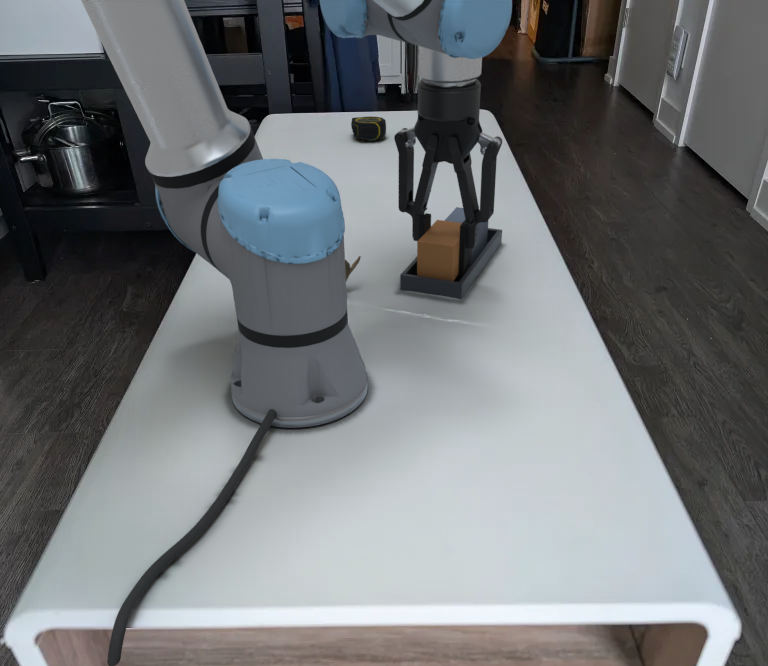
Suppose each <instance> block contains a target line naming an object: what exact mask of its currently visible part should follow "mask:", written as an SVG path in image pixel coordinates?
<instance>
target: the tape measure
mask: <svg viewBox="0 0 768 666" xmlns="http://www.w3.org/2000/svg"><path fill="white" fill-rule="evenodd" d="M350 126H351V131H352V134H353V137H355V138H356V139H359V140H366V141H367V142H374V141H375V142H376V141H377V140H378V139H382V138H384V137H385V136H386V134H387V120H386V119H385V118H384V117H380V116H359V117H351V122H350Z"/></svg>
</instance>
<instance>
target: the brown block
mask: <svg viewBox="0 0 768 666" xmlns="http://www.w3.org/2000/svg"><path fill="white" fill-rule="evenodd" d="M461 224H462V223H458V222H451V221H445V220H442V219H436V220H435V221H434V223H433V224H431V227H430V228H429V229H428V231H427V232H426V233H425V234H424V235H423V236H422V237H421V238H420V239H419V240H418V241H416V246H417V247H416V253H417V254H416V257H417V276H423V277H429V278H436V279H442V280H449V281H454V280H455V278H456V277H457V276H458V274H459V273H458V270H459V246H460V225H461Z"/></svg>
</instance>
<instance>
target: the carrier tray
mask: <svg viewBox="0 0 768 666" xmlns="http://www.w3.org/2000/svg"><path fill="white" fill-rule="evenodd" d="M502 237H503V229H500V228H491V227H488V235H487V245H486V246H485V248H484V249H483V250H482V252H481V253H480V254H479V256H478V257H477V258H476V260H475V261H474V262H473V264H472V265H469V267H468V268H467V270H466V271H465V273H464V274H461V273H459V274H458V276H457V277H456V278H455V280H454V281H449V280H442V279H436V278H429V277H423V276H417V256H415V258H414V259H413V260H412V261H411V262H410V263H409V264H408V266H407V267H406V268H405V269H403V271H402V273H400V274H399V281H400V282H399V288H400V289H399V290H403V291H408V292H416V293H420V294H421V293H422V294H428V295H432V296H433V295H434V296H440V297H446V298H453V299H454V298H455V299H459V300H462V299H463V297H464V296H465V295H466V293H467V292H468V290H469V289H470V288H471V286H472V285H473V284H474V282H475V281H476V280H477V278H478V276H479V275H480V274H481V273H482V271H483V270H484V268H485V267H486V265H488V263H489V261H490V259H492V257H493V255H494V254H495V253H496V251H497V250H498V249H499V247H500V246H501V245H502V240H503V238H502Z"/></svg>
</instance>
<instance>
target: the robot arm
mask: <svg viewBox="0 0 768 666" xmlns="http://www.w3.org/2000/svg"><path fill="white" fill-rule="evenodd" d="M80 1H81V3H82V5H83V8H84V9H85V12H86V14H87V16H88V18H89V20H90V22H91V24H92V26H93V27H94V29H95V32H96V34H97V36H98V38H99V40H100V42H101V44H102V46H103V49H104V51H105V53H106V54H107V56H108V58H109V60H110V62H111V65H112V66H113V68H114V71H115V73H116V75H117V77H118V79H119V81H120V83H121V84H122V87H123V89H124V91H125V94H126V96H127V98H128V99H129V101H130V103H131V105H132V107H133V109H134V111H135V114H136V115H137V117H138V120H139V122H140V124H141V125H142V128H143V129H144V132H145V134H146V136H147V138H148V140H149V142H150V143H149V146H148V150H147V153H146V156H145V160H144V163H145V167H146V169H147V171H148V173H149V176H150V178H151V180H152V181H153V183H154V185H155V188H154V191H155V192H154V193H155V201H156V204H157V209H158V212H159V213H160V216H161V218H162V219H163V221H164V223H165V225H166V227H167V228H168V229H169V231H170V232H171V234H172V235H173V237H175V238H176V239H177V240H178V242H179V243H181V244H182V245H183V246H185V248H187V249H188V250H191V251H192V252H194V253H196V254H197V255H198V256H199V257H201V258H202V259H203V260H204V261H206V262H207V263H208V264H209V265H211V267H213V268H215V269H216V270H217V271H218V272H219V273H220V274H222V276H224V277H225V278H227V279H228V280H229V281H230V284H231V290H232V298H233V303H234V309H235V316H236V321H237V327H238V328H237V329H238V337H237V343H236V347H235V353H234V357H233V362H232V367H231V373H230V385H229V386H230V392H231V393H230V394H231V399H232V403H233V405H234V407H235V408H236V409H237V411H238V412H240V413H241V414H242V415H243V416H244V417H246V418H248V419H249V420H251V421H254V422H256V423H259V424H260V425H259V427H258V428H257V430H256V432H255V434H254V435H253V437H252V439H251V441H250V442H249V445H248V446H247V448H246V450H245V452H244V454H243V455H242V457H241V458H240V460H239V462H238V464H237V466H236V467H235V469H234V471H233V472H232V474H231V475H230V477H229V479H228V480H227V482H226V483H225V485H224V487H223V488H222V490H221V491H220V493H219V494H218V496H217V497H216V498H215V500H214V501H213V503H212V504H211V506H210V507H209V508H208V509H207V511H206V512H205V513H204V514H203V515H202V517H201V518H200V519H199V520H198V522H196V523H195V525H194V526H193V527H191V529H190V530H189V531H188V532H187V533H186V534H185V535H184V536H183V537H181V538H180V539H179V540H178V541H176V543H175V544H173V545H172V546H171V547H170V548H168V550H167V551H165V552H164V553H163V554H162V555H161V556H160V557H158V558H157V559H156V560H155V561H154V562H153V563H152V564H151V565H150V566H149V567H148V569H146V570H145V571H144V573H143V574H142V575H141V577H140V578H139V579H138V581H137V582H136V584H135V585H134V586H133V588H132V589H131V590H130V592H129V594H128V595H127V597H126V598H125V600H124V601H123V602H122V604H121V606H120V608H119V610H118V613H117V615H116V617H115V620H114V624H113V627H112V631H111V634H110V635H111V636H110V641H109V646H108V652H107V661H106V662H107V666H117V665H118V664H119V663H120V662H121V659H122V658H121V657H122V652H123V645H124V641H125V634H126V630H127V627H128V623H129V620H130V617H131V615H132V613H133V610H134V609H135V607H136V605H137V604H138V602H139V601H140V599H141V597H143V595H144V594H145V591H146V590H147V589H148V587H149V586H150V585H151V583H152V582H153V581H154V580H155V579H156V578H157V576H159V574H160V573H161V572H162V571H163V570H165V568H166V567H167V566H169V564H170V563H172V562H173V561H174V560H175V559H176V558H177V557H178V556H179V555H181V554H182V553H184V552H185V551H186V550H187V549H188V548H189V547H190V546H191V545H192V544H193V543H194V542H195V541H196V540H197V539H198V538H199V537H200V536H201V535H202V534H203V533H204V531H205V530H206V529H207V528H208V527H209V526H210V525H211V523H212V522H213V521H214V519H215V518H216V517H217V515H218V514H219V513H220V512H221V510H222V509H223V507H224V506H225V504H226V503H227V502H228V500H229V498H230V497H231V495H232V494H233V493H234V491H235V489H236V488H237V486H238V484H239V483H240V481H241V479H242V478H243V476H244V474H245V473H246V471H247V469H248V468H249V466H250V464H251V462H252V461H253V459H254V457H255V455H256V453H257V451H258V450H259V448H260V445H262V442H263V440H264V438H265V437H266V435H267V433H268V431H269V430H270V428H271V427H276V428H287V429H288V428H289V429H292V428H293V429H296V428H309V427H316V426H321V425H324V424H328V423H331V422H334V421H336V420H339V419H341V418H343V417H345V416H347V415H349V414H351V413H352V412H353V411H355V410H356V409H357V408H358V407H359V406H360V405H361V404H362V403H363V402H364V400H365V399H366V396H367V393H368V386H369V385H368V384H369V383H368V373H367V369H366V368H367V367H366V364H365V362H364V359H363V357H362V355H361V352H360V350H359V348H358V345H357V342H356V340H355V338H354V335H353V333H352V332H353V331H352V330H351V328H350V325H349V316H348V295H347V281H346V271H345V260H346V254H345V253H346V251H345V232H346V224H345V217H344V211H343V208H342V207H343V206H342V200H341V199H342V198H341V195H340V191H339V188H338V186H337V185H336V183H335V181H334V180H333V179H332V178H331V176H330V175H328V174H327V173H326V172H325V171H323V170H321V169H320V168H318V167H316V166H315V165H312V164H308V163H305V162H302V161H298V162H292V161H291V160H290V159H286V158H263V155H262V152H261V150H260V147H259V144H258V142H257V140H256V137H255V133H254V132H253V129H252V127H251V124H250V122H249V120H248V119H247V118H246V117H245V116H243V115H241V114H239V113H236V112H234V111H232V110H230V109H229V108H228V106H227V104H226V101H225V98H224V96H223V93H222V91H221V89H220V86H219V84H218V81H217V79H216V77H215V74H214V71H213V68H212V66H211V64H210V62H209V61H210V60H209V59H208V57H207V54H206V52H205V49H204V46H203V44H202V41H201V39H200V36H199V34H198V32H197V29H196V27H195V24H194V22H193V19H192V17H191V14H190V11H189V10H188V6H187V4H186V1H185V0H80ZM319 6H320V11H321V14H322V16H323V19H324V21H325V24H326V26H327V28H328V29H329V30H330V32H332V34H333V35H335V37H338V38H341V39H349V38H350V39H351V38H352V39H353V38H357V39H363V38H364V37H368V36H380V37H385V38H387V39H391V40H395V41H399V42H403V43H406V44H410V45H414V46H417V76H418V77H419V79H420V80H419V82H418V83H417V120H416V122H415V124H414V126H413V127H410V128H407V127H403V128H402V129H400V130H399V131H398V132H397V133H395V134H394V137H393V139H394V143H395V146H396V149H397V152H398V210H399V212H401V213H406V214H408V215H409V216H410V217H411V219H412V237H411V238H412V240H413V241H414V242H417V241H418V240H419V239H420V238H421V237H422V236H423V235H424V234H425V233H426V232H427V231H428V229H429V228H430V227H431V226H432V213H427V212H426V211H427V210H428V207H427V206H428V203H429V198H430V196H431V192H432V188H433V183H434V180H435V177H436V173H437V168H438V165H439V163H443V162H445V163H448V164H450V165H452V166H453V172H454V173H455V175H456V178H457V183H458V184H457V185H458V189H459V194H460V198H461V204H462V208H463V209H464V215H465V220H464V222H463V223H462V224H461V225H460V246H459V270H458V273H461V274H464V273H465V271H466V270H467V268H468V267H469V264H470V248H471V249H473V248H474V247H475V245H476V244H477V242H478V227H479V223H481V222H484V223H485V222H487V221H488V222H489V220H490V218H491V217H492V216H493V215H494V213H495V197H496V196H495V195H496V192H495V191H496V178H497V177H496V176H497V160H498V155H499V152H500V150H501V147H502V144H503V139H502V137H500V136H497V135H496V136H494V137H492V136H491V135H488V134H487V133H485V132H483V128H482V125H481V123H480V110H481V92H482V91H481V90H482V83H481V82H480V80H479V79H478V78H479V77H480V76H481V75H482V67H483V58H484V57H486V56H488V55H490V54H491V53H492V52H493V51H495V49H497V48H498V46H499V45H500V44H501V42H502V40H503V38H504V36H505V35H506V32H507V30H508V28H509V25H510V22H511V19H512V13H513V0H319ZM417 140H418V143H419V144H420V145H421V147H422V149H423V151H424V152H425V153H424V157H423V161H422V165H421V167H422V168H421V169H422V170H421V173H420V178H419V181H418V184H417V189H416V193H415V196H414V189H415V188H414V182H415V180H414V178H415V148H414V147H415V145H416V142H417ZM477 144H479V147H480V149H479V151H480V154H481V155H482V160H481V174H480V196H479V197H480V198H479V201H478V195H477V189H476V184H475V180H474V174H473V169H472V162H473V161H472V155H471V152H472V151H473V149H474V148H475V146H476V145H477Z"/></svg>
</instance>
